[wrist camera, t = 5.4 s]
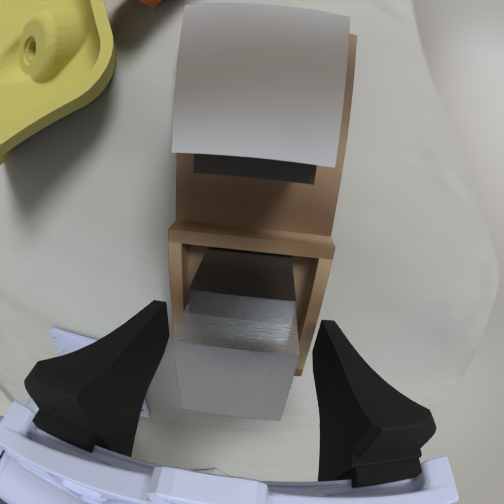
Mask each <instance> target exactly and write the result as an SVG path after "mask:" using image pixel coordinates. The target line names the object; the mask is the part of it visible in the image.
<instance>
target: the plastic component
mask: <svg viewBox="0 0 504 504" xmlns="http://www.w3.org/2000/svg"><path fill="white" fill-rule="evenodd" d="M115 64H116V53H115V46H114V40H113V34H112V31H111V27H110V24H109V20H108V17H107V13H106V9H105V5H104V2H103V0H0V165H1V164H2V163H4V162H5V161H6V160H7V158H8V157H9V154H10V150H11V149H12V148H14V147H15V146H16V145H18V144H19V143H21V142H22V141H24V140H26V139H27V138H29V137H30V136H32V135H33V134H35V133H37V132H38V131H40V130H42V129H43V128H45V127H47V126H48V125H50V124H52V123H54V122H55V121H57V120H59V119H61V118H63V117H64V116H66V115H68V114H70V113H72V112H74V111H76V110H78V109H80V108H82V107H84V106H86V105H87V104H89V103H90V102H92V101H93V100H94V99H96V98H97V97H98V96H99V95H100V94H101V93H102V91H103V90H104V89H105V88H106V86H107V85H108V83H109V81H110V79H111V77H112V75H113V72H114V69H115Z"/></svg>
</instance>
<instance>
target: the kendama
mask: <svg viewBox="0 0 504 504" xmlns="http://www.w3.org/2000/svg"><path fill="white" fill-rule="evenodd" d="M139 1H140V2H142V3H143V4H145V5H147V6H148V7H150V8H153V9H155V8H156V6H157V5H158V4H159V3H160V2H161V1H162V0H139Z"/></svg>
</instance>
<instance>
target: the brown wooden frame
mask: <svg viewBox="0 0 504 504" xmlns="http://www.w3.org/2000/svg"><path fill="white" fill-rule="evenodd" d="M349 29H350V17H347V16H343V15H338V14H333V13H328V12H323V11H317V10H311V9H304V8H296V7H288V6H278V5H266V4H247V3H210V4H191V5H185V9H184V15H183V22H182V29H181V37H180V45H179V54H178V63H177V73H176V84H175V97H174V111H173V129H172V153H177V175H176V221H175V222H174V223H173V224H172V225H171V227H170V228H169V229H168V247H169V269H170V286H171V301H172V313H173V325H174V335H175V332H176V330H177V327H178V325H179V323H180V320H181V318H182V315H183V313H184V311H185V308H186V306H187V304H188V301H189V287H190V285H191V283H192V281H193V279H194V276H195V274H196V272H197V270H198V268H199V266H200V264H201V261H202V259H203V257H204V255H205V253H206V251H207V249H208V247H219V248H228V249H237V250H246V251H256V252H265V253H274V254H283V255H291V257H292V266H293V275H294V284H295V293H296V306H295V307H296V318H297V330H298V342H299V354H300V356H299V359H298V363H297V366H296V370H295V373H294V376H301V374H302V371H303V368H304V365H305V362H306V358H307V355H308V352H309V348H310V345H311V341H312V338H313V334H314V331H315V327H316V324H317V320H318V316H319V312H320V309H321V305H322V301H323V297H324V293H325V289H326V285H327V281H328V277H329V273H330V268H331V264H332V260H333V255H334V251H335V246H334V243H333V241H332V239H331V237H330V236H331V231H332V226H333V221H334V216H335V210H336V205H337V199H338V193H339V188H340V182H341V176H342V169H343V163H344V156H345V149H346V142H347V135H348V127H349V119H350V111H351V102H352V92H353V82H354V70H355V57H356V42H357V35H352V34H349Z"/></svg>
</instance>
